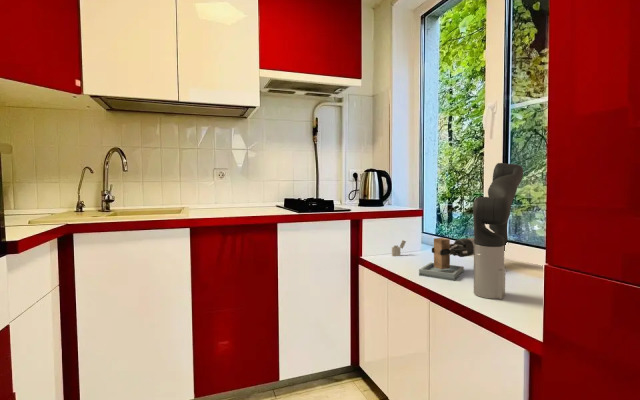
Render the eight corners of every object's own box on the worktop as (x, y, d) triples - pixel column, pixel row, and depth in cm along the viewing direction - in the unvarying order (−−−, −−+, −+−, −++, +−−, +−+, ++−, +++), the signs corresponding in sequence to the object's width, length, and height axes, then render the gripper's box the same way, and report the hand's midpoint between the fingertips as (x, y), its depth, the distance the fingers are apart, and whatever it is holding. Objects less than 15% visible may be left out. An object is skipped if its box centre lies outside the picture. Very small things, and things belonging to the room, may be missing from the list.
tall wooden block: (442, 265, 147) (442, 237, 146) (449, 268, 143) (449, 239, 142) (434, 266, 145) (433, 238, 144) (441, 269, 141) (441, 240, 140)
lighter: (392, 256, 178) (392, 240, 178) (391, 255, 180) (391, 240, 180) (406, 255, 179) (406, 240, 179) (404, 254, 181) (404, 239, 180)
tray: (463, 272, 145) (463, 266, 145) (454, 280, 134) (454, 274, 134) (430, 268, 154) (430, 262, 154) (419, 275, 143) (419, 269, 142)
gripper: (455, 236, 155) (424, 239, 149) (481, 241, 142) (449, 245, 136) (455, 252, 156) (424, 257, 149) (481, 259, 143) (449, 264, 136)
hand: (436, 251), depth 142 cm, fingers closed on tall wooden block, 4 cm apart
